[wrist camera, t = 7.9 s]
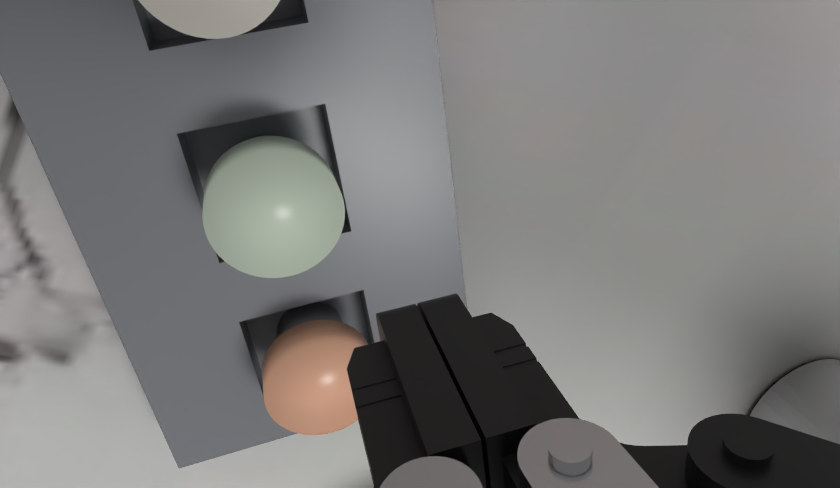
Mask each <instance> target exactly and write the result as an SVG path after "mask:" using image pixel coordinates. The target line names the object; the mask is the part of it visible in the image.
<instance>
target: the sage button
mask: <svg viewBox="0 0 840 488" xmlns="http://www.w3.org/2000/svg"><path fill="white" fill-rule="evenodd" d="M202 218H203V226H204V230H205V234H206V236H207V239H208V241H209V243H210V245H211V246H212V248H213V249H214V251H215V252H216V253H217V254H218V256H219V257H221V258H222V259H223V260H224V261H225V262H226V263H228V264H229V265H230V266H232V267H233V268H235V269H237V270H239V271H241V272H244V273H246V274H249V275H253V276H256V277H263V278H282V277H288V276H293V275H296V274H299V273H302V272H304V271H306V270H308V269H310V268H312V267H314V266H315V265H317V264H318V263H319V262H321V261H322V260H323V259H324V258H325V257H326V256H327V255H328V254H329V253H330V252H331V251H332V249H333V248H334V246H335V245H336V243H337V242H338V240H339V237H340V235H341V233H342V229H343V226H344V220H345V207H344V200H343V197H342V193H341V191H340V189H339V187H338V184H337V182H336V180H335V177H334V175H333V173H332V171H331V169H330V167H329V166H328V164H327V163H326V161H325V160H324V159H323V158H322V157H321V156H320V155H319V154H318V153H317V152H316V151H315V150H313V149H312V148H311V147H309V146H308V145H306V144H304V143H302V142H300V141H297V140H294V139H291V138H287V137H282V136H270V135H263V136H257V137H254V138H251V139H248V140H245V141H243V142H240V143H238V144H237V145H235V146H233V147H231V148H230V149H229V150H228V151H226V152H225V153H224V154H223V155H222V156H221V157H220V158H219V159H218V160H217V161H216V163H215V164H214V165H213V167H212V169H211V171H210V173H209V175H208V177H207V180H206V184H205V189H204V199H203V213H202Z"/></svg>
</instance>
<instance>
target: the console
mask: <svg viewBox="0 0 840 488" xmlns="http://www.w3.org/2000/svg"><path fill="white" fill-rule="evenodd" d="M0 73H1V75H2V77H3V79H4V82H5V84H6V86H7V88H8V91H9V93H10V95H11V97H12V99H13V102H14V104H15V106H16V108H17V111H18V113H19V115H20V117H21V119H22V122H23V124H24V126H25V128H26V130H27V133H28V135H29V137H30V139H31V142H32V144H33V146H34V148H35V150H36V153H37V155H38V157H39V159H40V162H41V164H42V166H43V168H44V170H45V173H46V175H47V177H48V179H49V181H50V184H51V186H52V188H53V190H54V193H55V195H56V197H57V199H58V201H59V204H60V206H61V208H62V210H63V213H64V215H65V217H66V219H67V221H68V224H69V226H70V228H71V230H72V233H73V235H74V237H75V239H76V241H77V244H78V246H79V248H80V250H81V252H82V255H83V257H84V259H85V261H86V264H87V266H88V268H89V270H90V272H91V275H92V277H93V279H94V281H95V284H96V286H97V288H98V290H99V292H100V295H101V297H102V299H103V301H104V303H105V306H106V308H107V310H108V312H109V315H110V317H111V319H112V321H113V323H114V326H115V328H116V330H117V332H118V335H119V337H120V339H121V341H122V343H123V346H124V348H125V350H126V352H127V355H128V357H129V359H130V361H131V363H132V366H133V368H134V370H135V372H136V374H137V377H138V379H139V381H140V383H141V386H142V388H143V390H144V392H145V394H146V397H147V399H148V401H149V403H150V406H151V408H152V410H153V412H154V414H155V417H156V419H157V421H158V423H159V425H160V428H161V430H162V432H163V434H164V437H165V439H166V441H167V443H168V445H169V448H170V450H171V452H172V454H173V457H174V459H175V461H176V463H177V465H178V468H182V467H185V466H189V465H192V464H195V463H199V462H202V461H206V460H209V459H212V458H216V457H219V456H222V455H226V454H229V453H233V452H236V451H239V450H243V449H246V448H249V447H253V446H256V445H260V444H263V443H266V442H270V441H273V440H276V439H280V438H283V437H287V436H290V435H293V434H297V433H295V432H291V431H289V430H287V429H285V428H283V427H281V426H280V425H279V424H277V423H276V422H275V421H274V420H273V419H272V418H271V416H270V415H269V413H268V412H267V409H266V407H265V403H264V395H263V382H262V363H263V359H264V356H265V354H266V352H267V350H268V348H269V347H270V345H271V344H272V343H273V342H274V340H275V339H276V338H277V326H278V323H279V321H280V319H281V317H282V316H283V315H284V313H285V312H287V311H288V310H289V309H291V308H295V307H299V306H303V305H307V304H311V303H315V302H322V303H325V304H328V305H330V306H331V307H333V308H334V309H335V310H336V311H337V312H338V314H339V315H340V317H341V320H342V323H345V324H347V325H349V326H351V327H353V328H355V329H356V330H357V331H359V332H360V333H361V334H362V335H363V337H364V338H365V339H366V341H367V343H368V344H372V343H375V342H379V341H380V336H379V331H378V326H377V320H376V313H379V312H383V311H387V310H392V309H396V308H400V307H404V306H408V305H412V304H416V306H417V303H419V302H423V301H427V300H431V299H435V298H439V297H443V296H447V295H451V294H455V293H456V294H458V296H459V297H460V299H461V300H462V302H463V303H464V305H465V307H466V308H467V303H466V294H465V285H464V276H463V268H462V259H461V250H460V241H459V232H458V223H457V214H456V205H455V196H454V187H453V178H452V169H451V160H450V151H449V142H448V133H447V124H446V115H445V107H444V98H443V89H442V80H441V71H440V62H439V53H438V44H437V35H436V26H435V17H434V8H433V0H280V1H279V3H278V5H277V6H276V8H275V9H274V11H273V12H272V13H271V14H270V15H269V16H268V17H267V18H266V19H265V20H264V21H263V22H262V23H260V24H259V25H258V26H257V27H255V28H253V29H251V30H250V31H248V32H245V33H243V34H240V35H238V36H234V37H229V38H222V39H206V38H199V37H194V36H191V35H187V34H184V33H182V32H179V31H177V30H175V29H173V28H171V27H169V26H167V25H166V24H164V23H162V22H161V21H160V20H158V19H157V18H156V17H154V16H153V15H152V14H151V13H150V12H149V11H148V10H146V9H145V8H144V6H143V5H142V4H141V3H140V2H139V1H138V0H0ZM263 135H270V136H282V137H287V138H291V139H294V140H297V141H300V142H302V143H304V144H306V145H308V146H309V147H311V148H312V149H313V150H315V151H316V152H317V153H318V154H319V155H320V156H321V157H322V158H323V159H324V160H325V161H326V163H327V164H328V166H329V167H330V169H331V171H332V173H333V175H334V177H335V180H336V182H337V184H338V187H339V189H340V191H341V193H342V197H343V200H344V207H345V220H344V226H343V229H342V233H341V235H340V237H339V240H338V242H337V243H336V245H335V246H334V248H333V249H332V251H331V252H330V253H329V254H328V255H327V256H326V257H325V258H324V259H323V260H322V261H321V262H319V263H318V264H317V265H315V266H314V267H312V268H310V269H308V270H306V271H304V272H302V273H299V274H296V275H293V276H288V277H282V278H263V277H256V276H253V275H249V274H246V273H244V272H241V271H239V270H237V269H235V268H233V267H232V266H230V265H229V264H228V263H226V262H225V261H224V260H223V259H222V258H221V257H219V256H218V254H217V253H216V252H215V251H214V249H213V248H212V246H211V245H210V243H209V241H208V239H207V236H206V234H205V230H204V226H203V218H202V213H203V199H204V189H205V184H206V180H207V177H208V175H209V173H210V171H211V169H212V167H213V165H214V164H215V163H216V161H217V160H218V159H219V158H220V157H221V156H222V155H223V154H224V153H225V152H226V151H228V150H229V149H230V148H231V147H233V146H235V145H237V144H238V143H240V142H243V141H245V140H248V139H251V138H254V137H257V136H263Z"/></svg>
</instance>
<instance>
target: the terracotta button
mask: <svg viewBox="0 0 840 488" xmlns="http://www.w3.org/2000/svg"><path fill="white" fill-rule="evenodd" d="M364 345H368V343H367V341H366V339H365V338H364V337H363V335H362V334H361V333H360V332H359V331H357V330H356V329H355V328H353V327H351V326H349V325H347V324H345V323H342V320H341V317H340V315H339V314H338V312H337V311H336V310H335V309H334V308H333V307H331V306H330V305H328V304H325V303H322V302H315V303H311V304H307V305H303V306H299V307H295V308H291V309H289V310H288V311H287V312H285V313H284V315H283V316H282V317H281V319H280V321H279V323H278V326H277V338H276V339H275V340H274V342H273V343H272V344H271V345H270V347H269V348H268V350H267V352H266V354H265V356H264V359H263V363H262V382H263V395H264V403H265V407H266V409H267V412H268V413H269V415H270V416H271V418H272V419H273V420H274V421H275V422H276V423H277V424H279V425H280V426H281V427H283V428H285V429H287V430H289V431H291V432H295V433H298V434H304V435H321V434H328V433H332V432H335V431H338V430H341V429H343V428H345V427H347V426H349V425H351V424H353V423H354V422H356V421H357V420H358V416H357V412H356V408H355V403H354V399H353V394H352V390H351V386H350V381H349V377H348V372H347V367H348V364H349V361H350V358H351V355H352V353H353V350H354V348H356V347H360V346H364Z"/></svg>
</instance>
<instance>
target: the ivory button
mask: <svg viewBox="0 0 840 488" xmlns="http://www.w3.org/2000/svg"><path fill="white" fill-rule="evenodd" d="M138 1H139V2H140V3H141V4H142V5H143V6H144V8H145V9H146V10H148V11H149V12H150V13H151V14H152V15H153V16H154V17H156V18H157V19H158V20H160V21H161V22H162V23H164V24H166V25H167V26H169V27H171V28H173V29H175V30H177V31H179V32H182V33H184V34H187V35H191V36H194V37H199V38H206V39H222V38H229V37H234V36H238V35H240V34H243V33H245V32H248V31H250V30H251V29H253V28H255V27H257V26H258V25H259V24H260V23H262V22H263V21H264V20H265V19H266V18H267V17H268V16H269V15H270V14H271V13H272V12H273V11H274V9H275V8H276V6H277V5H278V3H279V1H280V0H138Z"/></svg>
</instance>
